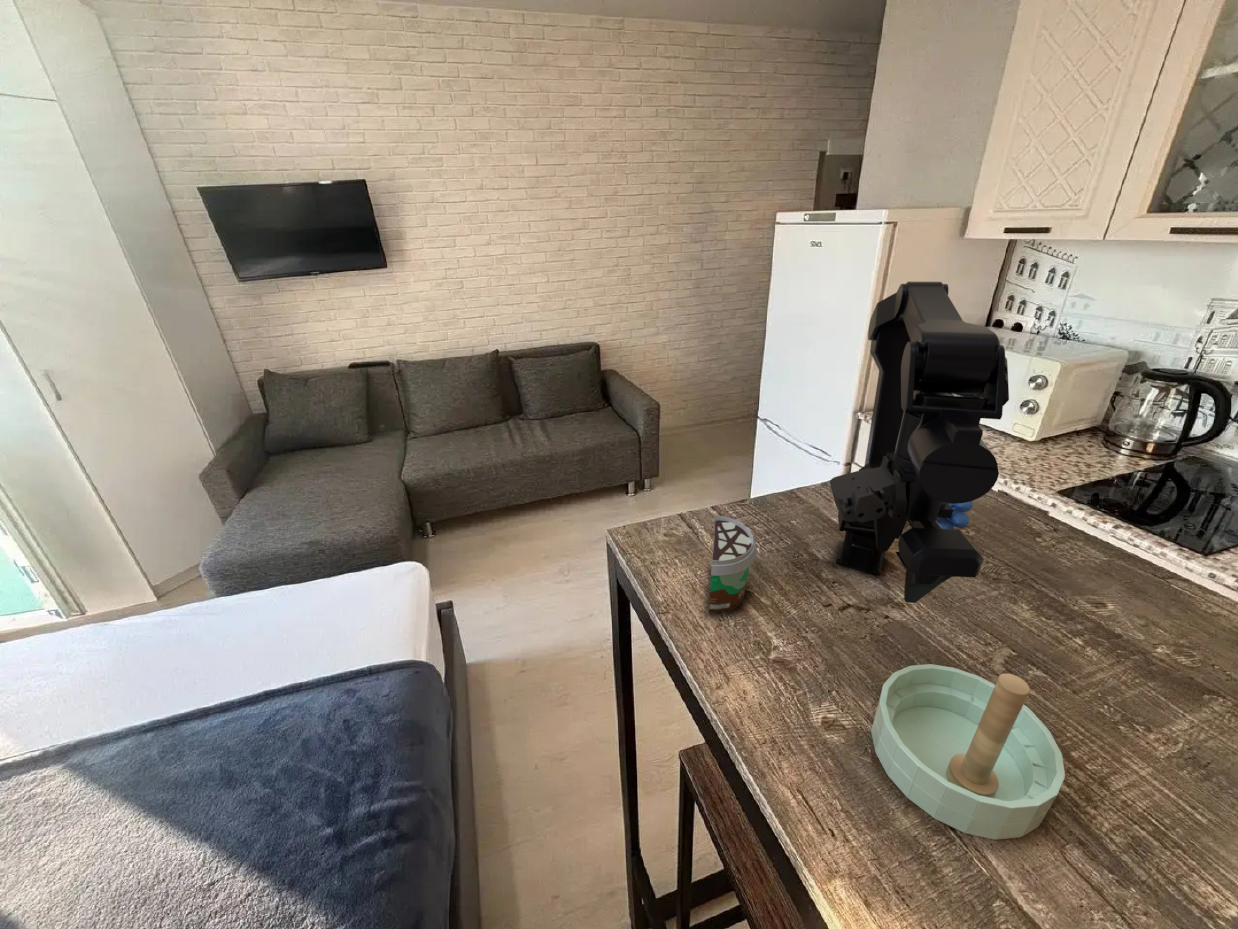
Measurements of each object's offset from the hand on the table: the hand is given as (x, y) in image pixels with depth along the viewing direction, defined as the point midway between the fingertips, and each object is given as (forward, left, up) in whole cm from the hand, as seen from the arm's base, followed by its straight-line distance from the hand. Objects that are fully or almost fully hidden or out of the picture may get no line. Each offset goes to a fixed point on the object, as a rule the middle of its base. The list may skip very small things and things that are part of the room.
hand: (894, 574), depth 59 cm
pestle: (+13, +11, -12) cm, 21 cm away
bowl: (+11, +9, -13) cm, 19 cm away
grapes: (-33, +3, -13) cm, 36 cm away
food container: (-2, -20, -13) cm, 24 cm away
